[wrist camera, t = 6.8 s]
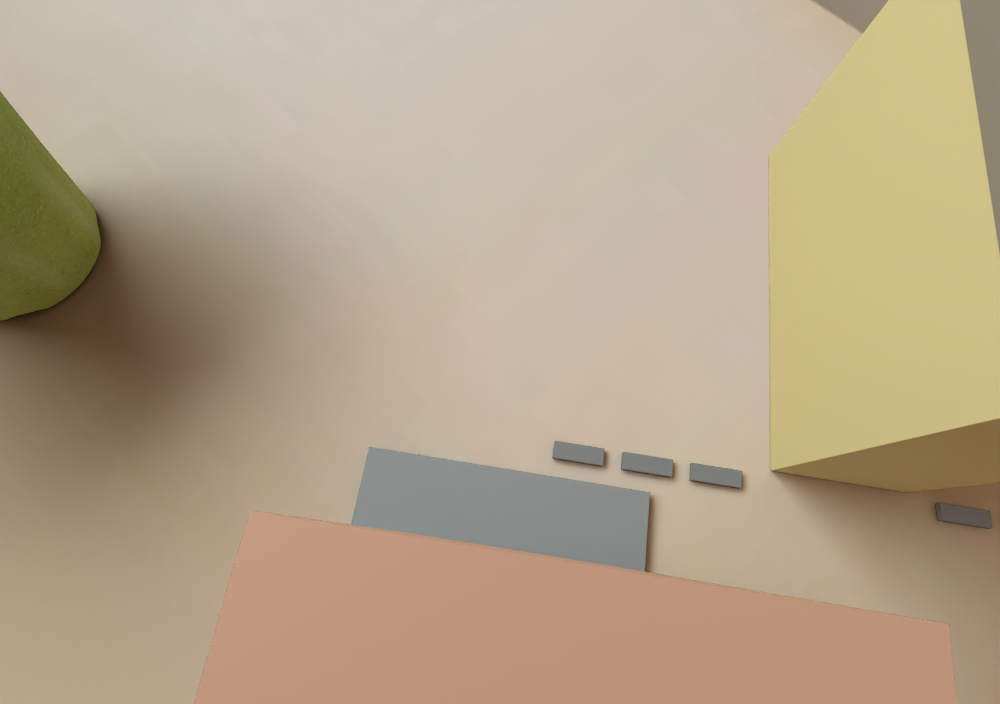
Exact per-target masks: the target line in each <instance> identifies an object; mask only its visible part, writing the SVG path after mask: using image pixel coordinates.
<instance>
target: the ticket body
mask: <svg viewBox="0 0 1000 704" xmlns="http://www.w3.org/2000/svg"><path fill="white" fill-rule="evenodd" d="M769 249H770V455H771V471H776V472H782V473H788V474H795V475H801V476H807V477H813V478H820V479H826V480H832V481H838V482H844V483H851V484H857V485H863V486H869V487H875V488H882V489H888V490H894V491H900V492H906V493H907V492H916V491H926V490H935V489H945V488H954V487H963V486H973V485H982V484H992V483H1000V0H889V1H888V2H887V3H886V5H885V6H884V7H883V9H882V10H881V11H880V12H879V14H878V15H877V16H876V18H875V19H874V20H873V21H872V23H871V24H870V25H869V27H868V28H867V29H866V31H865V32H864V33H863V34H862V36H861V37H860V38H859V40H858V41H857V42H856V43H855V45H854V46H853V47H852V49H851V50H850V51H849V53H848V54H847V55H846V56H845V58H844V59H843V60H842V62H841V63H840V64H839V66H838V67H837V68H836V69H835V71H834V72H833V73H832V75H831V76H830V77H829V78H828V80H827V81H826V82H825V84H824V85H823V86H822V88H821V89H820V90H819V91H818V93H817V94H816V95H815V97H814V98H813V99H812V101H811V102H810V103H809V104H808V106H807V107H806V108H805V110H804V111H803V112H802V113H801V115H800V116H799V117H798V119H797V120H796V121H795V123H794V124H793V125H792V126H791V128H790V129H789V130H788V132H787V133H786V134H785V136H784V137H783V138H782V139H781V141H780V142H779V143H778V145H777V146H776V147H775V148H774V150H773V151H772V152H771V154H770V155H769Z"/></svg>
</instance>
